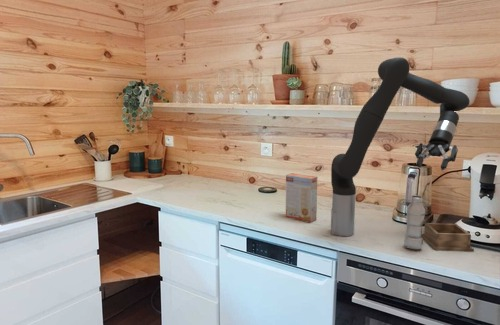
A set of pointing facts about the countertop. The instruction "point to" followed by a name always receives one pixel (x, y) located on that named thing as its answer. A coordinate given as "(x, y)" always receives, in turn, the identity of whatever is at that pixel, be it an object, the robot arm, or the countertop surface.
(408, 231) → the plastic bottle
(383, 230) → the countertop surface
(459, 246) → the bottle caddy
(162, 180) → the countertop surface
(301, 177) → the cracker box
